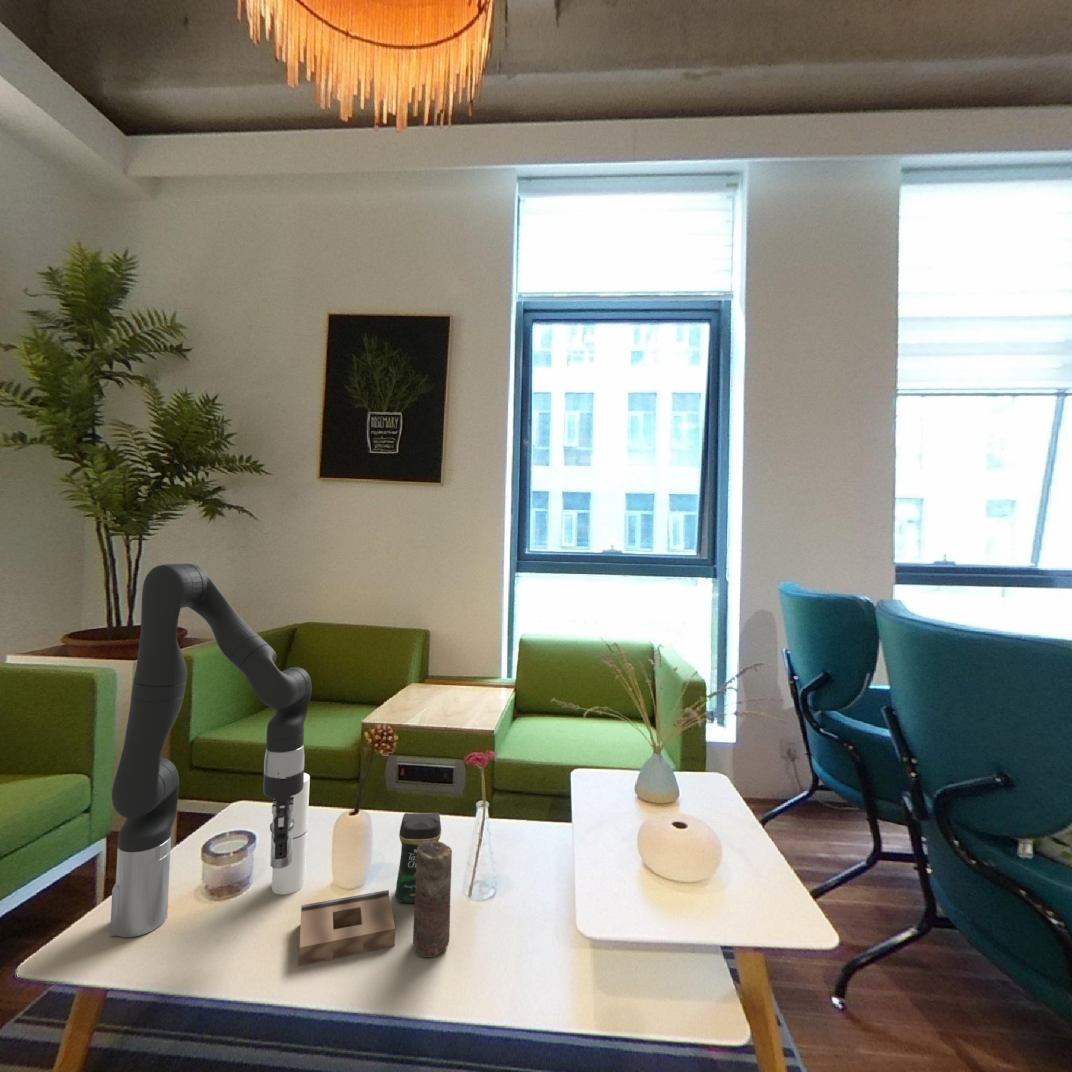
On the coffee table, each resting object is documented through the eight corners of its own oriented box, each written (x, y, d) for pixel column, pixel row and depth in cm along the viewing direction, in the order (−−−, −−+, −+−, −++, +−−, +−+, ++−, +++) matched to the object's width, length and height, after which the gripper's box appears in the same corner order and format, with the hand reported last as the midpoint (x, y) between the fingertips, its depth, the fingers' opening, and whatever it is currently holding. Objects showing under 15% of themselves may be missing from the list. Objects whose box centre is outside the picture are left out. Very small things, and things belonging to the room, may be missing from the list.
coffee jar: (394, 906, 128) (398, 824, 127) (397, 884, 135) (401, 807, 135) (438, 904, 129) (442, 822, 129) (438, 883, 137) (442, 806, 137)
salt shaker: (267, 871, 113) (269, 831, 113) (269, 858, 118) (270, 819, 118) (292, 866, 115) (294, 827, 115) (293, 854, 119) (295, 816, 119)
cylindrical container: (281, 898, 128) (287, 788, 128) (265, 885, 133) (270, 778, 133) (310, 884, 134) (315, 778, 134) (294, 872, 138) (299, 769, 138)
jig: (298, 965, 109) (299, 944, 109) (300, 924, 120) (301, 905, 120) (394, 945, 116) (395, 925, 116) (387, 908, 127) (388, 889, 127)
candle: (409, 936, 119) (414, 840, 119) (444, 929, 121) (449, 835, 121) (415, 962, 112) (420, 860, 111) (452, 954, 114) (457, 855, 114)
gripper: (267, 756, 121) (264, 837, 122) (260, 785, 108) (257, 875, 108) (304, 753, 124) (302, 831, 124) (303, 780, 111) (300, 868, 111)
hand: (281, 851), depth 116 cm, fingers closed on salt shaker, 4 cm apart
